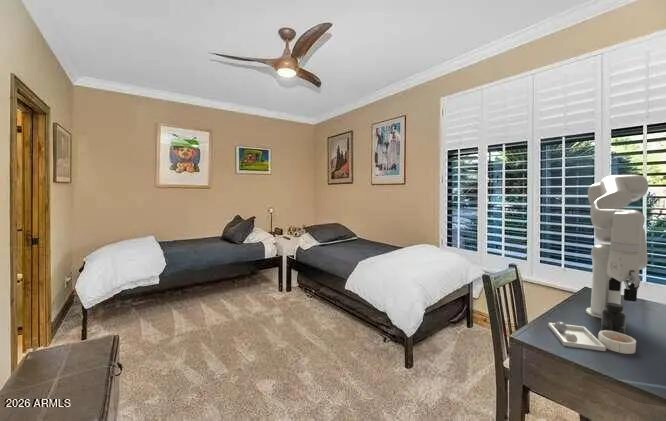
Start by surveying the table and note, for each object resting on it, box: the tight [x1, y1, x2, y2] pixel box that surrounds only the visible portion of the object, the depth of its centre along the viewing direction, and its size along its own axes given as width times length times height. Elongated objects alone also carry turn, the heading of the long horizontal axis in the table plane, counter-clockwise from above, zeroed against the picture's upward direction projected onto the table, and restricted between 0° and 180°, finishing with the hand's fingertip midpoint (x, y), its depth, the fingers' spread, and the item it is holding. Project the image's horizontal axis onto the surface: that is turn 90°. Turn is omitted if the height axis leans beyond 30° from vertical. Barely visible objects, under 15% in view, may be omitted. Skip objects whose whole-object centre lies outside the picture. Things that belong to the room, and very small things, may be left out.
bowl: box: [597, 330, 637, 355], centre depth 108 cm, size 10×10×4 cm
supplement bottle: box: [600, 302, 627, 335], centre depth 117 cm, size 7×7×12 cm
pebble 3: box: [611, 336, 626, 343], centre depth 107 cm, size 4×4×4 cm
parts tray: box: [548, 322, 607, 352], centre depth 114 cm, size 16×12×2 cm
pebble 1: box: [554, 320, 567, 332], centre depth 119 cm, size 4×4×4 cm
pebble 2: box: [565, 333, 577, 342], centre depth 110 cm, size 3×3×3 cm
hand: (621, 295), depth 107 cm, fingers open, 9 cm apart
